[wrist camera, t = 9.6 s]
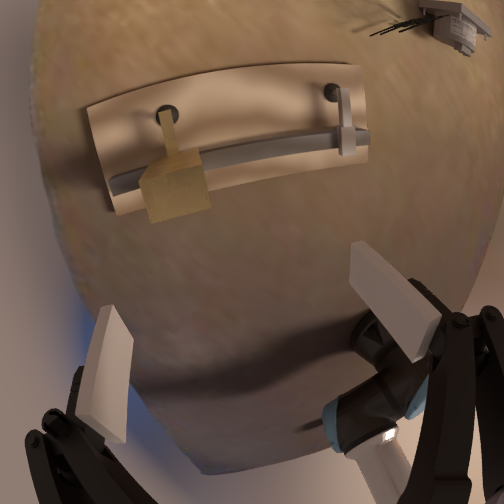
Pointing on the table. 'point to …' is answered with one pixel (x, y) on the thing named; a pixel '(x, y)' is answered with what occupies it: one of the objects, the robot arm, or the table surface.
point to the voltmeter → (449, 24)
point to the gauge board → (235, 125)
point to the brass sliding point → (174, 179)
